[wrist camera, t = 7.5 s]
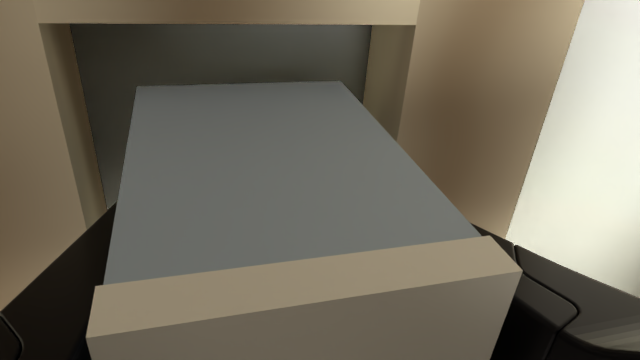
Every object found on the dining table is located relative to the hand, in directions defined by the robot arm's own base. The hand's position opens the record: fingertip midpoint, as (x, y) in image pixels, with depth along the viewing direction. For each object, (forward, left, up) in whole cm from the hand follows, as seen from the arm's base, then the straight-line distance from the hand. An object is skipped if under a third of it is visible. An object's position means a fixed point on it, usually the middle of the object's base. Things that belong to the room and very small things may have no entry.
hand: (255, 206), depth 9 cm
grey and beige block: (0, 0, -1) cm, 1 cm away
